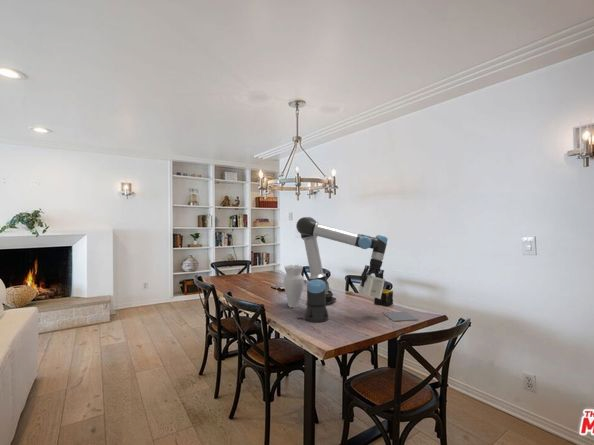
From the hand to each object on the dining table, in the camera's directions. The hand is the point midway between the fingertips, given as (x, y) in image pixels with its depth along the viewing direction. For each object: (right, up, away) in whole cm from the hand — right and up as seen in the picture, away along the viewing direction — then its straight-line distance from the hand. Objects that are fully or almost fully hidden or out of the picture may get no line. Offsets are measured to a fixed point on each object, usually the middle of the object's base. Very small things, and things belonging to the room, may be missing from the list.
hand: (368, 293), depth 189 cm
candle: (+18, -15, +31) cm, 39 cm away
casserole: (-27, -16, +36) cm, 47 cm away
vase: (-48, -16, +27) cm, 57 cm away
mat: (+20, -15, +2) cm, 25 cm away
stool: (+4, +5, -5) cm, 8 cm away
